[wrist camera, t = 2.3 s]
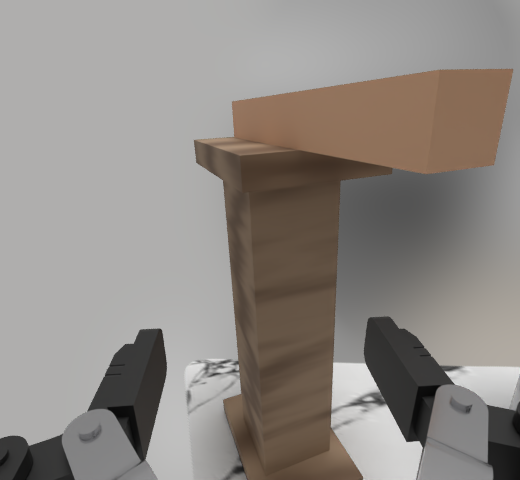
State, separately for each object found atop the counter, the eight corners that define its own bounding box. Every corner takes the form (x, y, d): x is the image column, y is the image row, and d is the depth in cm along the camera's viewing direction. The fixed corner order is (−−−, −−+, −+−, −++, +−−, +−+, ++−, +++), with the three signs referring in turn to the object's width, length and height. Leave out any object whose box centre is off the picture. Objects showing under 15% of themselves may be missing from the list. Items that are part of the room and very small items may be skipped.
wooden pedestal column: (362, 487, 32) (395, 141, 21) (264, 532, 29) (239, 155, 18) (297, 384, 44) (295, 132, 33) (224, 409, 41) (193, 139, 30)
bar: (493, 164, 12) (513, 69, 11) (426, 174, 11) (440, 69, 10) (265, 135, 31) (264, 100, 30) (234, 137, 30) (231, 101, 29)
